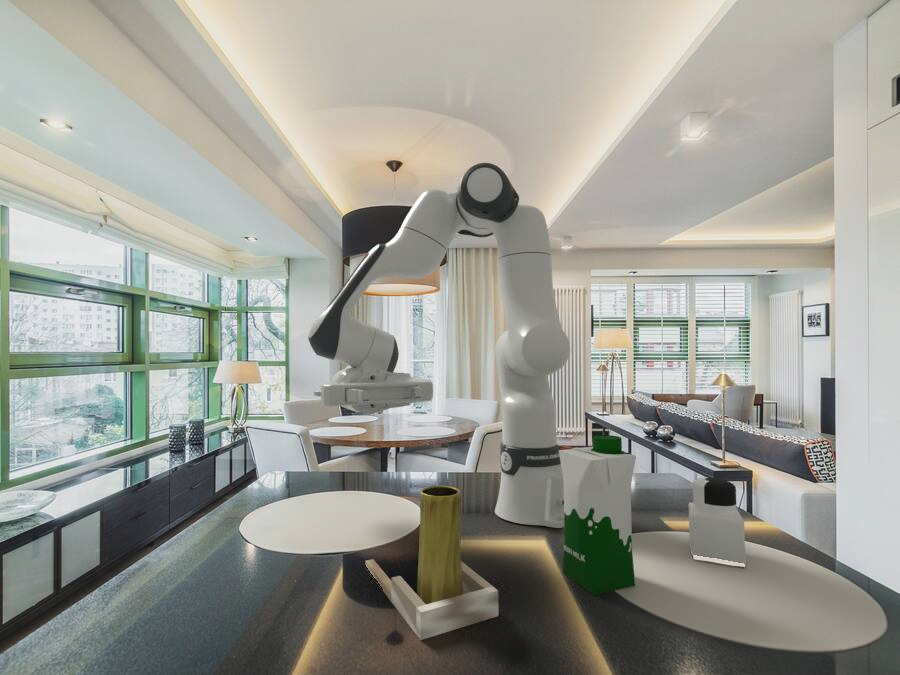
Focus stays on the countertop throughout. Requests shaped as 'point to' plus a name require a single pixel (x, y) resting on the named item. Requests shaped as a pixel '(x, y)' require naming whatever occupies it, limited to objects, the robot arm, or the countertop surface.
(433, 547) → the vase
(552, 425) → the robot arm
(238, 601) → the countertop surface
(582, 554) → the milk carton
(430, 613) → the frame
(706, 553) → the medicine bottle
